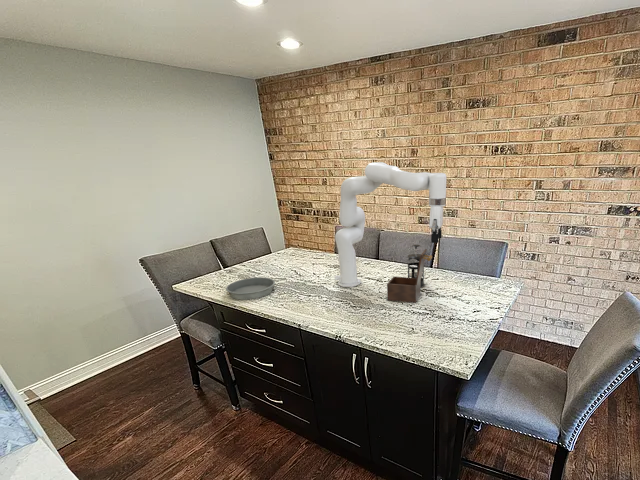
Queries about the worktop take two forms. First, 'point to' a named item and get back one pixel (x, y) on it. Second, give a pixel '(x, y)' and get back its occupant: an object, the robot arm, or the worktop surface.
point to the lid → (422, 265)
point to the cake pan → (250, 288)
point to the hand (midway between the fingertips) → (436, 240)
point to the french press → (414, 274)
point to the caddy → (403, 289)
